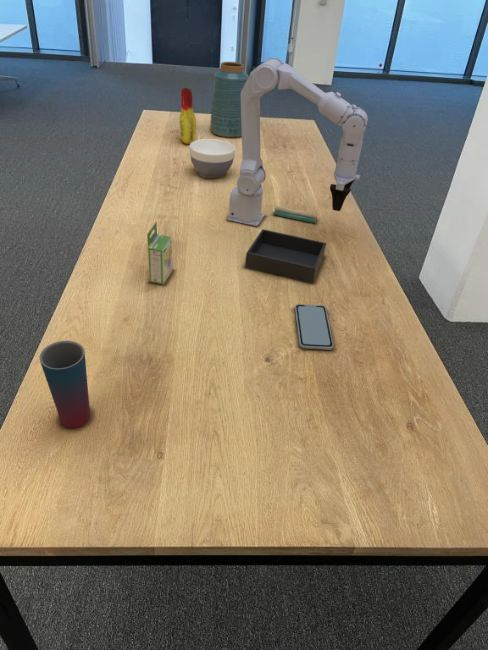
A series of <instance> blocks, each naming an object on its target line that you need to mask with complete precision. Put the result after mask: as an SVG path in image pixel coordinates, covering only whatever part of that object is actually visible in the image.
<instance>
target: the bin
mask: <svg viewBox="0 0 488 650" xmlns="http://www.w3.org/2000/svg"><path fill="white" fill-rule="evenodd" d="M326 247H327V242H324V241H319V240H315V239H310V238H305V237H300V236H296V235H291V234H287V233H283V232H277V231H274V230H270V229H269V230H268V229H264V228H262V229H261V230H260V232H259V233H258V235H257V236H256V237H255V239H254V241H253V242H252V243H251V245H250V247H249V248H248V249H247V251H246V255H245V266H244V267H245V268H246V269H250V270H255V271H257V272H263V273H266V274H271V275H275V276H280V277H283V278H288V279H293V280H296V281H301V282H305V283H310V284H313V283H314V282H315V279H316V277H317V274H318V272H319V269H320V267H321V265H322V263H323V260H324V257H325V252H326Z"/></svg>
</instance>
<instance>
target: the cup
mask: <svg viewBox="0 0 488 650" xmlns="http://www.w3.org/2000/svg"><path fill="white" fill-rule="evenodd" d="M39 362H40V365H41V368H42V371H43V374H44V376H45V379H46V382H47V386H48V389H49V391H50V394H51V398H52V400H53V403H54V406H55V409H56V412H57V414H58V417H59V421H60V423H61V424H62V426H63V427H64V428H68V429H78V428H81V427H83V426H85V425H86V424H87V423H89V421H90V419H91V410H90V409H91V408H90V397H89V384H88V376H87V375H88V374H87V363H86V351H85V348H84V347H83V346H82V344H81V343H79V342H77V341H73V340H59V341H55V342H53V343H50V344H48V345H47V346H45V347H44V348H43V349H42V351H40V354H39Z"/></svg>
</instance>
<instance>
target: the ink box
mask: <svg viewBox="0 0 488 650" xmlns="http://www.w3.org/2000/svg"><path fill="white" fill-rule="evenodd" d="M157 223H158V222H157V221H155V222H154V224H153V225H152V227H151V228H150V229H149V231H147V233H146V240H147V257H148V258H147V259H148V260H147V261H148V281H149V283H153V284H157V285H162V286H164V285H166V282H167V280H169V278H170V276H171V274H172V272H173V271H174V266H173V265H174V263H173V262H174V261H173V260H174V259H173V237H172V236H169V235H163V234H158V225H157Z"/></svg>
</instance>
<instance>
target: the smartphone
mask: <svg viewBox="0 0 488 650" xmlns="http://www.w3.org/2000/svg"><path fill="white" fill-rule="evenodd" d="M294 313H295V320H296V329H297V336H298V344H299V347H300V348H302V349H305V350H309V349H310V350H326V351H328V350H332V349H333V348H334V339H333V335H332V331H331V325H330V321H329V315H328V312H327V307H326V306H325V305H323V304H321V305H320V304H303V303H302V304H301V303H297V304H295V306H294Z"/></svg>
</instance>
